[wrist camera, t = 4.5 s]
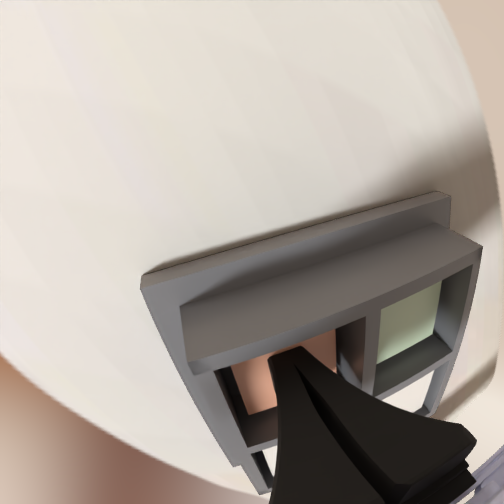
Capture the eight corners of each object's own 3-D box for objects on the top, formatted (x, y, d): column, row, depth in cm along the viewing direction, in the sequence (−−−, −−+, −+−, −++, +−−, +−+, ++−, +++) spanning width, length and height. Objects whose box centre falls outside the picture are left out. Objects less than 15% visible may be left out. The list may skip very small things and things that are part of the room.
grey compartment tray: (412, 378, 19) (443, 413, 16) (229, 455, 17) (244, 505, 14) (436, 190, 13) (498, 215, 10) (141, 275, 11) (135, 343, 8)
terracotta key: (322, 361, 14) (336, 382, 12) (240, 390, 13) (248, 415, 12) (316, 291, 12) (334, 312, 11) (217, 324, 11) (225, 350, 10)
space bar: (408, 391, 16) (421, 406, 15) (265, 455, 15) (273, 476, 13) (419, 348, 15) (435, 364, 13) (251, 421, 13) (260, 446, 12)
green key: (414, 318, 15) (432, 334, 13) (352, 348, 14) (367, 368, 13) (421, 251, 13) (443, 264, 12) (351, 279, 12) (371, 297, 11)
